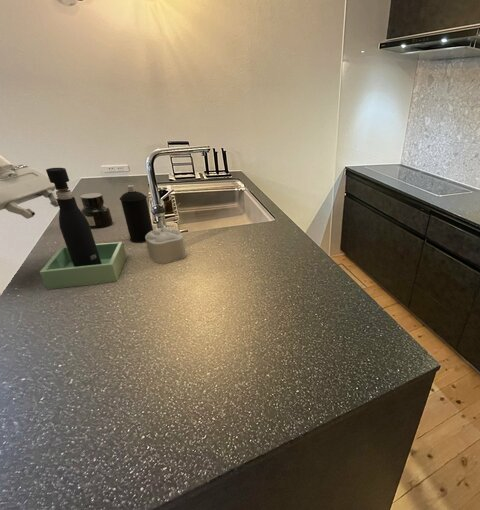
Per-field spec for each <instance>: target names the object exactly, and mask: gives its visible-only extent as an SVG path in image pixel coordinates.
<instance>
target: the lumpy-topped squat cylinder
mask: <svg viewBox="0 0 480 510" xmlns="http://www.w3.org/2000/svg"><path fill="white" fill-rule="evenodd" d="M145 239H146V242H145V243H146V247H147V251H148V256H149V258H150V259H151V261H152V262H153V263H155V264H159V265H163V264H168V263H171V262H175V261H179V260H183V259H184V258H186V257H187V251H186V246H185V240H184V236H183V234H182V233H181V232H180V230H179V229H178V228H168V227H167V226H164V227H160V228H153V231H151V232H149V233H148V234H147V235H146V236H145ZM185 256H186V257H185Z"/></svg>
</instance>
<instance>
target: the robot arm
mask: <svg viewBox="0 0 480 510" xmlns="http://www.w3.org/2000/svg"><path fill="white" fill-rule="evenodd" d="M55 190H56V187H55V184H54V183H51V182H50V180H49V177H48V174H47V173H44V172H43V171H41V170H39V169H37V168H35V167H33V166H28V165H24V164H19V165H16V166H15V165H14V164H13V163H12V162H10V161H9V160H8V159H7V158H5V157H3V156H2V155H1V154H0V211H3V210H6V211H8V213H9V212H10V213H12V214H16V215H18V216H19V215H20V216H22V217H23V218H25V219H31V218H33V217H34V216H35V215H36V212H34V211H33V210H32V209H31V208H24V207H21V206H18V205H20V204H23V203H25V202H28V201H31V200H34V199H37V198H40V197H44V198H46V199H48V200H49V201H50V202H49V204H50V205H51V206H53V207H54V208H59V205H58V202H57V198H58V197H57V195H56V192H55Z"/></svg>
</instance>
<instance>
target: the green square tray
mask: <svg viewBox="0 0 480 510" xmlns="http://www.w3.org/2000/svg"><path fill="white" fill-rule="evenodd" d="M95 244H96V247H97V250H98V253H99V257H100V260H101V263H102V264H98V265H88V266H79V267H74V265H73V262H72V260H71V257H70V254H69V251H68V249H67V246H66V245H65V246H59V248H58V250H56V252H55V253H54V254H53V255H52V257H50V259H49V260H48V261H47V262H46V264H45V265H44V266H43V268H42V269H40V271H39V274H40V277H41V279H42V281H43V284H44V285H45V288H46V290H47V291H48V290H55V289H56V290H57V289H63V288H72V287H73V288H74V287H80V286H88V285H89V286H90V285H96V284H105V283H113V282H114V283H115V282H118V280H119V278H120V275H121V272H122V269H123V267H124V265H125V262H126V260H127V257H128V256H127V253H126V250H125V245H124V242H123V241H115V242H104V243H103V242H101V243H95Z"/></svg>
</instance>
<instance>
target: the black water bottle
mask: <svg viewBox="0 0 480 510" xmlns="http://www.w3.org/2000/svg"><path fill="white" fill-rule="evenodd" d="M45 171H46V175H47V176H48V177H49V180H50V182H51V183H54V184H55V187H56V189H55V190H56V191H55V195H56V197H57V202H58V205H59V206H58V208H59V212H58V222H59V223H58V225H59V229H60V232H61V235H62V237H63V240H64V243H65V246H67V249H68V251H69V254H70V257H71V260H72V262H73V265H74V267H79V266H88V265H98V264H102V263H101V260H100V257H99V253H98V250H97V247H96V244H97V243H96V241H95V238H94V235H93V231H92V228H90V225H89V222H88V221H87V219H86V217H85V216H84V214H83V213H82V212H81V210H82V209H80V207H78V203H77V201H76V198H75V196H74V195H73V192H72V190H70V187H69V186H68V183H69V182H70V179H69V175H68V172H67V169H66V168H65V167H50V168H46V169H45Z"/></svg>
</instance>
